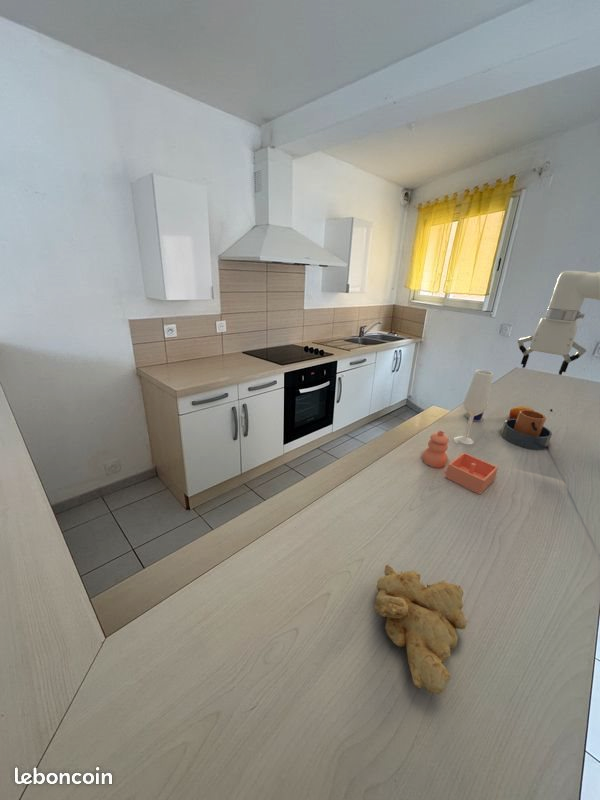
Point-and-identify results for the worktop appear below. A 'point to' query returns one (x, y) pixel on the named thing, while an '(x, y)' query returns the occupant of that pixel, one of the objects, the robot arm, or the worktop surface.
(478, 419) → the energy drink
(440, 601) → the ginger root
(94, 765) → the worktop surface
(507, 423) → the shallow round gray bowl
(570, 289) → the robot arm
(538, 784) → the worktop surface
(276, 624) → the worktop surface
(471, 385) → the champagne flute
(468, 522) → the worktop surface
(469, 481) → the pottery
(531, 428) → the cup
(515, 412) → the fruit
